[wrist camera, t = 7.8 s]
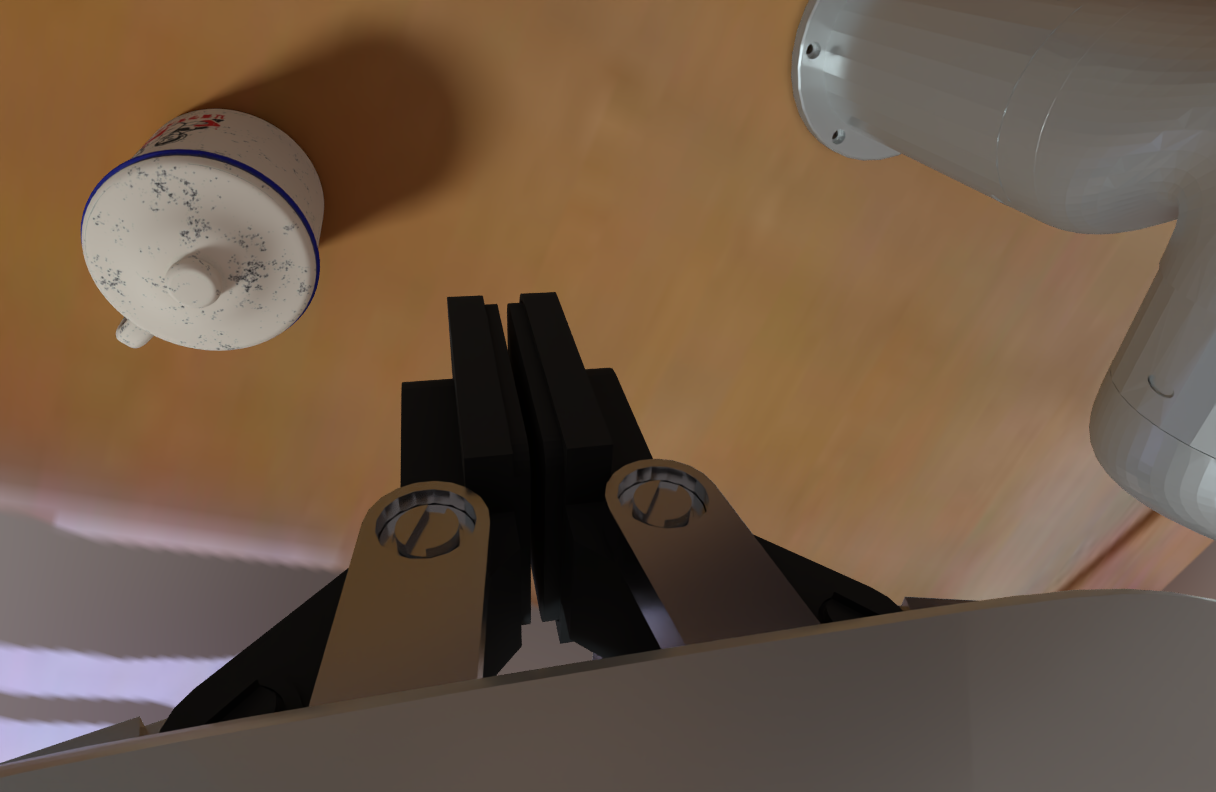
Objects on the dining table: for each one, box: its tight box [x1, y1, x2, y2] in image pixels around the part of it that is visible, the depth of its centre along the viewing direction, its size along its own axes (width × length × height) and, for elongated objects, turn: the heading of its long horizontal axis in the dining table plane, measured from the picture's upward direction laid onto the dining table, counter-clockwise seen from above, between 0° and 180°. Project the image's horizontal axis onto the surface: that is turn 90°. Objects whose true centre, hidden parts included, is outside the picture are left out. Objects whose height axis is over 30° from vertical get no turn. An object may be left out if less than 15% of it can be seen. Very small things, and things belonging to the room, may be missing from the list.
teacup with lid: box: [81, 109, 324, 350], centre depth 34 cm, size 12×9×12 cm
